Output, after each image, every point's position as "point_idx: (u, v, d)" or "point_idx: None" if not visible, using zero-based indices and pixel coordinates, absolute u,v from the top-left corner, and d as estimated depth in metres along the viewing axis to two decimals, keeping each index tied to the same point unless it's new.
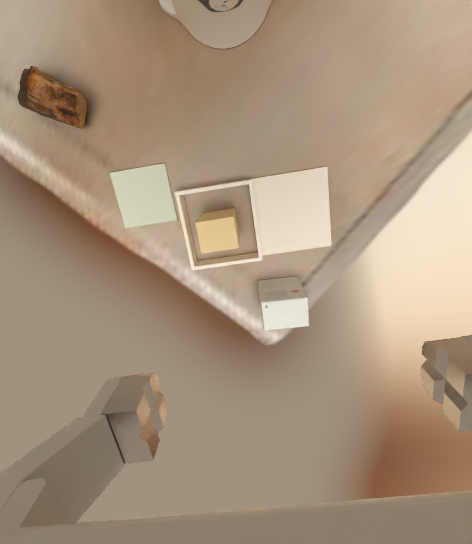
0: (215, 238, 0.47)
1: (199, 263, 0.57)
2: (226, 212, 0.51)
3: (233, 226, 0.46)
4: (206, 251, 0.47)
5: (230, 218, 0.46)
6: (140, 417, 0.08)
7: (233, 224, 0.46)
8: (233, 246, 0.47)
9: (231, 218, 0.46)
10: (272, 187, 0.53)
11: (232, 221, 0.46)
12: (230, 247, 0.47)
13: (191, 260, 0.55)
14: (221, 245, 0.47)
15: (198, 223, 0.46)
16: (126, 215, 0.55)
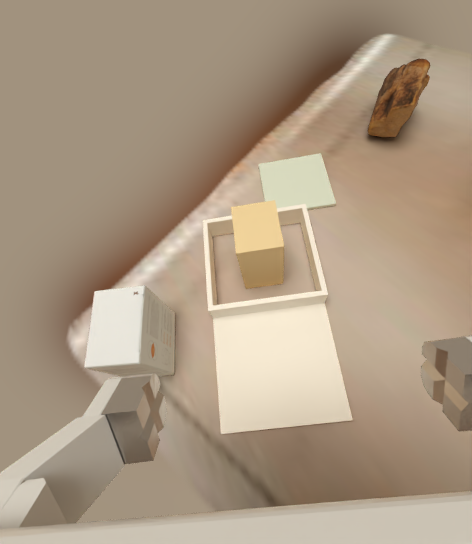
0: (251, 223, 0.33)
1: (210, 234, 0.42)
2: None
3: (269, 246, 0.31)
4: (234, 213, 0.33)
5: (281, 242, 0.31)
6: (140, 417, 0.08)
7: (272, 246, 0.31)
8: (239, 246, 0.32)
9: (281, 243, 0.31)
10: (314, 332, 0.36)
11: (276, 244, 0.31)
12: (237, 242, 0.32)
13: (216, 220, 0.41)
14: (240, 230, 0.32)
15: (273, 203, 0.33)
16: (273, 166, 0.48)
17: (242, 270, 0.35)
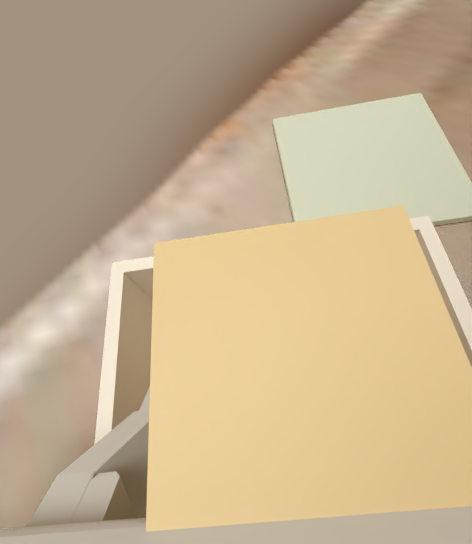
0: (272, 360, 0.05)
1: (139, 299, 0.15)
2: None
3: None
4: (168, 278, 0.06)
5: None
6: None
7: None
8: None
9: None
10: None
11: None
12: None
13: (151, 262, 0.14)
14: (196, 418, 0.05)
15: (400, 227, 0.06)
16: (307, 122, 0.20)
17: None
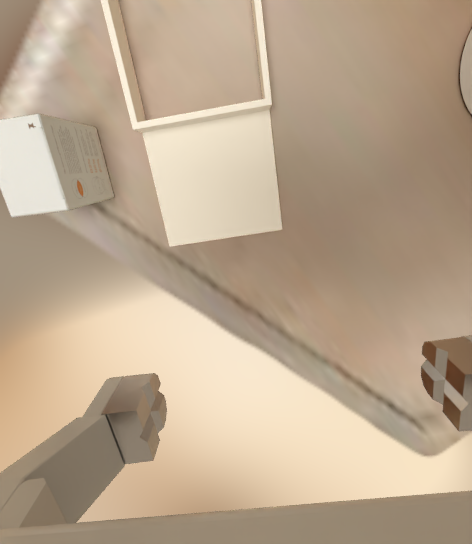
0: None
1: None
2: None
3: None
4: None
5: None
6: (140, 417, 0.08)
7: None
8: None
9: None
10: (255, 147, 0.34)
11: None
12: None
13: None
14: None
15: None
16: None
17: None
